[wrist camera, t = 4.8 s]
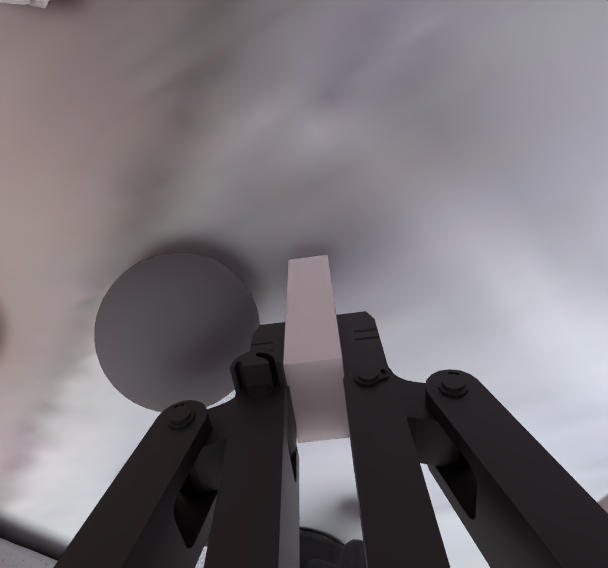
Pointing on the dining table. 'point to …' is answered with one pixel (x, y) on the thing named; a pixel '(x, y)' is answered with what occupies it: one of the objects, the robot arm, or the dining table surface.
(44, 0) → the egg carton
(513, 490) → the robot arm
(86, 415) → the dining table surface
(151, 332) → the dark gray ball
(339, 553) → the milk frother
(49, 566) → the ceramic mug
